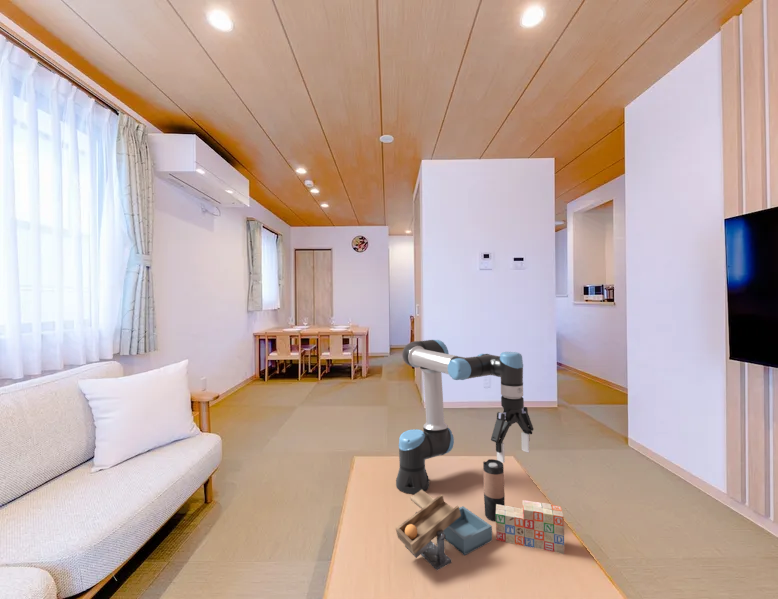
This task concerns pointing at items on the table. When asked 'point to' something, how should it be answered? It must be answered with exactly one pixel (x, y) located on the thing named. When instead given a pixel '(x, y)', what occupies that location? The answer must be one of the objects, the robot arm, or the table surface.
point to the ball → (411, 531)
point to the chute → (427, 521)
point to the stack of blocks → (531, 526)
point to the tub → (468, 532)
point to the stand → (437, 552)
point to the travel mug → (493, 487)
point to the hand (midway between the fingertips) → (513, 456)
